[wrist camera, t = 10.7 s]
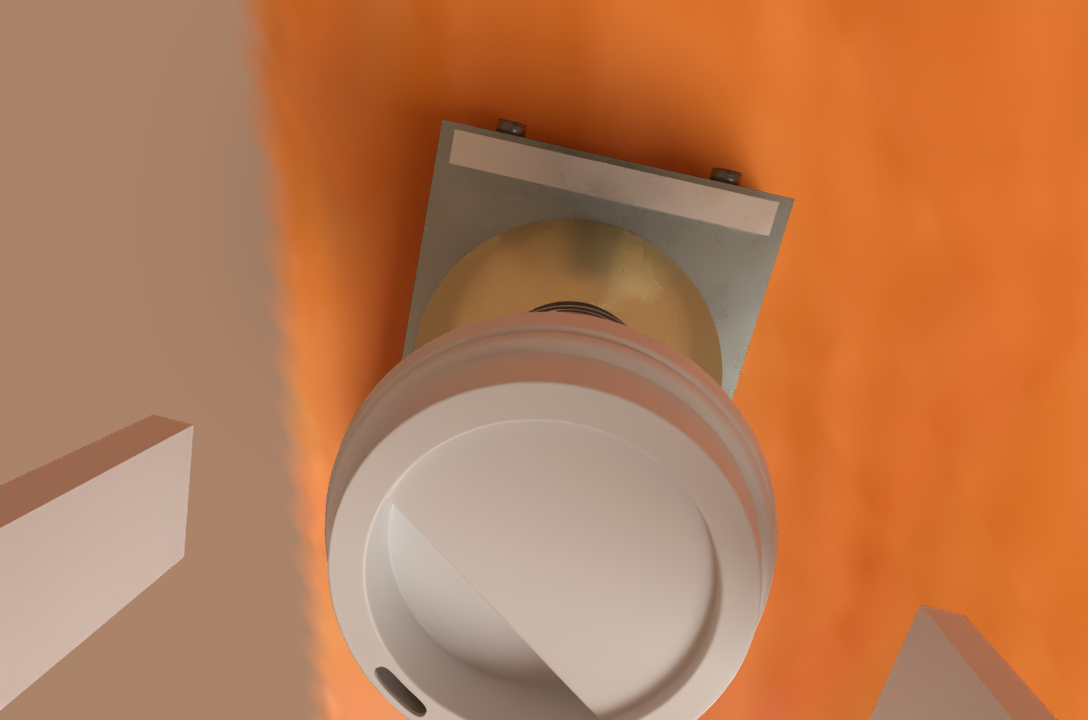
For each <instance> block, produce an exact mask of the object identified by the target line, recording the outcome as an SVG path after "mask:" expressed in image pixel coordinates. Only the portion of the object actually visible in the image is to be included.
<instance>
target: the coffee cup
mask: <svg viewBox="0 0 1088 720" xmlns="http://www.w3.org/2000/svg"><path fill="white" fill-rule="evenodd" d="M325 544H326V554H327V561H328V577H329V587H330V594H331V600H332V604H333V608H334V612H335V616H336V619H337V622H338V625H339V627H340V630H341V633H342V635H343V637H344V640H345V642H346V644H347V646H348V648H349V650H350V652H351V654H352V655H353V657H354V659H355V660H356V662H357V664H358V665H359V667H360V668H361V670H362V671H363V673H364V674H365V675H366V677H367V678H368V679H369V681H370V682H371V683H372V684H373V686H374V687H375V688H376V689H377V690H378V691H379V692H380V694H381V695H382V696H383V697H384V698H385V699H386V700H387V701H388V702H389V703H390V704H391V705H392V706H394V707H395V708H396V709H397V710H398V711H399V712H400V713H402V714H403V715H404V716H405V717H407V718H408V719H409V720H697V719H698V718H699V717H700V716H701V715H702V714H703V713H704V712H706V711H707V710H708V709H709V708H710V707H711V706H712V705H713V704H714V703H715V701H716V700H717V699H718V698H719V697H720V696H721V694H722V693H723V692H724V691H725V689H726V688H727V687H728V685H729V684H730V683H731V681H732V680H733V678H734V677H735V675H736V673H737V672H738V670H739V668H740V666H741V665H742V663H743V661H744V659H745V656H746V654H747V652H748V650H749V647H750V645H751V642H752V639H753V636H754V633H755V630H756V628H757V626H758V624H759V621H760V619H761V617H762V614H763V611H764V609H765V606H766V603H767V599H768V596H769V592H770V588H771V584H772V580H773V575H774V570H775V564H776V556H777V516H776V503H775V496H774V490H773V485H772V480H771V476H770V472H769V469H768V466H767V463H766V460H765V457H764V454H763V452H762V450H761V447H760V445H759V443H758V441H757V439H756V437H755V435H754V433H753V431H752V429H751V427H750V426H749V424H748V422H747V420H746V419H745V417H744V416H743V414H742V413H741V411H740V410H739V409H738V407H737V406H736V404H735V403H734V402H733V401H732V399H731V398H730V397H729V396H728V394H727V393H726V392H725V391H724V390H723V389H722V388H721V387H720V386H719V385H718V384H717V382H716V381H715V380H714V379H712V378H711V377H710V376H709V375H708V374H707V373H706V372H705V371H704V370H703V369H701V368H700V367H699V366H698V365H697V364H695V363H694V362H693V361H691V360H690V359H689V358H687V357H686V356H685V355H683V354H682V353H680V352H679V351H677V350H676V349H674V348H672V347H671V346H669V345H667V344H666V343H664V342H662V341H660V340H658V339H656V338H654V337H652V336H650V335H648V334H646V333H643V332H641V331H639V330H636V329H634V328H631V327H629V326H626V325H625V324H624V323H623V322H622V321H621V320H619V319H618V318H617V317H616V316H614V315H613V314H611V313H610V312H608V311H606V310H604V309H602V308H600V307H597V306H594V305H591V304H587V303H583V302H575V301H562V302H554V303H550V304H546V305H543V306H540V307H537V308H535V309H533V310H531V311H529V312H526V313H516V314H508V315H502V316H497V317H492V318H488V319H484V320H480V321H477V322H474V323H470V324H468V325H465V326H462V327H459V328H457V329H454V330H452V331H450V332H447V333H445V334H443V335H441V336H439V337H437V338H435V339H433V340H432V341H430V342H428V343H426V344H425V345H423V346H422V347H420V348H418V349H417V350H415V351H414V352H413V353H411V354H410V355H408V356H407V357H406V358H404V359H403V360H402V361H401V362H399V363H398V364H397V365H396V366H395V367H394V368H393V369H391V370H390V371H389V372H388V373H387V374H386V375H385V376H384V377H383V378H382V379H381V380H380V381H379V383H378V384H377V385H376V386H375V387H374V388H373V390H372V391H371V392H370V393H369V395H368V396H367V397H366V399H365V400H364V401H363V403H362V404H361V406H360V407H359V409H358V410H357V412H356V414H355V416H354V417H353V419H352V421H351V423H350V425H349V427H348V429H347V431H346V433H345V435H344V438H343V440H342V443H341V446H340V448H339V451H338V454H337V457H336V460H335V463H334V466H333V469H332V473H331V477H330V482H329V487H328V493H327V500H326V513H325Z"/></svg>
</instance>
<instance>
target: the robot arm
mask: <svg viewBox="0 0 1088 720" xmlns="http://www.w3.org/2000/svg"><path fill="white" fill-rule="evenodd" d="M192 439H193V424H189V423H184V422H180V421H176V420H172V419H168V418H164V417H160V416H156V415H151V416H149V417H147V418H145V419H143V420H141V421H138V422H136V423H134V424H132V425H130V426H128V427H126V428H123V429H121V430H119V431H117V432H115V433H113V434H110V435H108V436H106V437H104V438H102V439H100V440H98V441H95V442H93V443H91V444H89V445H87V446H85V447H82V448H80V449H78V450H76V451H74V452H72V453H69V454H67V455H65V456H63V457H61V458H59V459H57V460H54V461H52V462H50V463H48V464H46V465H44V466H41V467H39V468H37V469H35V470H33V471H31V472H29V473H26V474H25V475H22V476H20V477H18V478H16V479H14V480H11V481H9V482H7V483H5V484H3V485H1V486H0V710H1V709H2V708H3V707H5V706H6V705H7V704H8V703H10V702H11V701H12V700H13V699H14V698H16V697H17V696H18V695H19V694H20V693H22V692H23V691H24V690H25V689H26V688H28V687H29V686H30V685H31V684H32V683H34V682H35V681H36V680H37V679H38V678H40V677H41V676H42V675H43V674H44V673H46V672H47V671H48V670H49V669H50V668H51V667H52V666H54V665H55V664H56V663H57V662H59V661H60V660H61V659H62V658H63V657H65V656H66V655H67V654H68V653H69V652H71V651H72V650H73V649H74V648H75V647H76V646H78V645H79V644H80V643H81V642H83V641H84V640H85V639H86V638H87V637H89V636H90V635H91V634H92V633H93V632H94V631H95V630H97V629H98V628H99V627H100V626H102V625H103V624H104V623H105V622H106V621H108V620H109V619H110V618H111V617H112V616H114V615H115V614H116V613H117V612H118V611H120V610H121V609H122V608H123V607H124V606H126V605H127V604H128V603H129V602H130V601H132V600H133V599H134V598H135V597H136V596H137V595H139V594H140V593H141V592H142V591H143V590H145V589H146V588H147V587H148V586H149V585H151V584H152V583H153V582H154V581H155V580H157V579H158V578H159V577H160V576H161V575H163V574H164V573H165V572H166V571H167V570H169V569H170V568H171V567H172V566H173V565H174V564H176V563H177V562H178V561H179V560H181V559H182V558H183V557H184V548H185V535H186V534H185V533H186V520H187V507H188V492H189V480H190V466H191V453H192ZM869 720H1057V719H1056V718H1055V717H1054V716H1053V714H1052V713H1051V712H1050V711H1049V710H1048V709H1047V708H1046V706H1045V705H1044V704H1043V703H1042V702H1041V701H1040V700H1039V699H1038V697H1037V696H1036V695H1035V694H1034V693H1033V692H1032V691H1031V689H1030V688H1029V687H1028V686H1027V685H1026V684H1025V683H1024V682H1023V680H1022V679H1021V678H1020V677H1019V676H1018V675H1017V674H1016V672H1015V671H1014V670H1013V669H1012V668H1011V667H1010V666H1009V665H1008V663H1007V662H1006V661H1005V660H1004V659H1003V658H1002V657H1001V656H1000V654H999V653H998V652H997V651H996V650H995V649H994V648H993V646H992V645H991V644H990V643H989V642H988V641H987V640H986V639H985V637H984V636H983V635H982V634H981V633H980V632H979V631H978V629H977V628H976V627H975V626H974V625H973V624H972V623H971V622H970V620H969V619H968V618H967V617H966V616H965V615H961V614H957V613H953V612H949V611H945V610H941V609H937V608H933V607H929V606H925V605H920V607H919V609H918V612H917V614H916V616H915V618H914V621H913V623H912V625H911V627H910V630H909V632H908V634H907V636H906V639H905V641H904V643H903V645H902V648H901V650H900V652H899V654H898V657H897V659H896V661H895V663H894V666H893V668H892V670H891V672H890V675H889V677H888V679H887V681H886V684H885V686H884V688H883V690H882V692H881V695H880V697H879V699H878V701H877V704H876V706H875V708H874V710H873V713H872V715H871V717H870V719H869Z"/></svg>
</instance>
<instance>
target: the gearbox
mask: <svg viewBox="0 0 1088 720" xmlns="http://www.w3.org/2000/svg"><path fill="white" fill-rule="evenodd" d="M526 128H527V126H526V125H523V124H520V123H517V122H513V121H509V120H503V119H498V124H497V129H496V131H492V130H487V129H483V128H478V127H474V126H469V125H465V124H461V123H456V122H452V121H447V120H443V119H442V124H441V130H440V136H439V142H438V148H437V154H436V160H435V166H434V171H433V177H432V183H431V189H430V195H429V201H428V207H427V213H426V219H425V225H424V230H423V236H422V242H421V248H420V254H419V260H418V266H417V272H416V278H415V284H414V289H413V295H412V301H411V307H410V313H409V319H408V325H407V331H406V337H405V343H404V348H403V354H402V360H403V359H404V358H406V357H407V356H408V355H410V354H411V353H413V352H414V351H415V350H417V349H418V348H420V347H422V346H423V345H425V344H426V343H428V342H430V341H432V340H433V339H435V338H437V337H439V336H441V335H443V334H445V333H447V332H450V331H452V330H454V329H457V328H459V327H462V326H465V325H468V324H470V323H474V322H477V321H480V320H484V319H488V318H492V317H497V316H502V315H508V314H516V313H526V312H529V311H531V310H533V309H535V308H537V307H540V306H543V305H546V304H550V303H554V302H562V301H575V302H583V303H587V304H591V305H594V306H597V307H600V308H602V309H604V310H606V311H608V312H610V313H611V314H613V315H614V316H616V317H617V318H618V319H619V320H621V321H622V322H623V323H624V324H625V325H626V326H629V327H631V328H634V329H636V330H639V331H641V332H643V333H646V334H648V335H650V336H652V337H654V338H656V339H658V340H660V341H662V342H664V343H666V344H667V345H669V346H671V347H672V348H674V349H676V350H677V351H679V352H680V353H682V354H683V355H685V356H686V357H687V358H689V359H690V360H691V361H693V362H694V363H695V364H697V365H698V366H699V367H700V368H701V369H703V370H704V371H705V372H706V373H707V374H708V375H709V376H710V377H711V378H712V379H714V380H715V381H716V382H717V384H718V385H719V386H720V387H721V388H722V389H723V390H724V391H725V392H726V393H727V394H728V396H729V397H730V398H731V399H732V397H733V394H734V391H735V388H736V385H737V381H738V378H739V375H740V372H741V369H742V365H743V362H744V359H745V356H746V353H747V349H748V346H749V343H750V340H751V337H752V333H753V330H754V327H755V324H756V321H757V317H758V314H759V311H760V308H761V305H762V301H763V298H764V295H765V292H766V289H767V285H768V282H769V279H770V276H771V273H772V269H773V266H774V263H775V260H776V257H777V253H778V250H779V247H780V244H781V240H782V237H783V234H784V231H785V228H786V224H787V221H788V218H789V215H790V212H791V208H792V205H793V202H794V199H793V198H788V197H784V196H780V195H775V194H771V193H766V192H762V191H757V190H753V189H749V188H744V187H740V186H739V183H740V179H741V176H742V174H741V173H738V172H735V171H731V170H726V169H721V168H712V172H711V175H710V179H704V178H700V177H695V176H691V175H687V174H682V173H678V172H673V171H669V170H664V169H660V168H656V167H651V166H647V165H642V164H638V163H633V162H629V161H625V160H620V159H616V158H611V157H607V156H602V155H598V154H594V153H589V152H585V151H580V150H576V149H571V148H567V147H563V146H558V145H554V144H549V143H545V142H540V141H536V140H531V139H527V138H525V133H526ZM402 360H401V361H402Z"/></svg>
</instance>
